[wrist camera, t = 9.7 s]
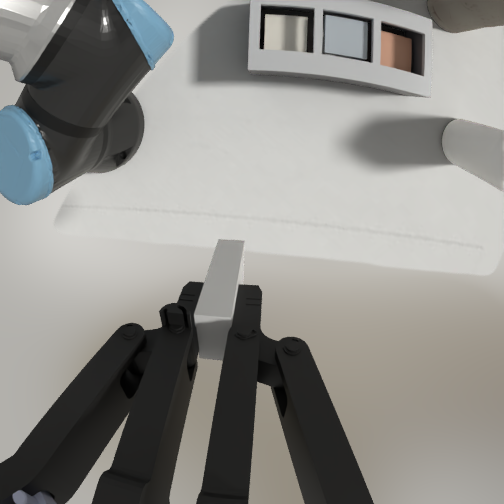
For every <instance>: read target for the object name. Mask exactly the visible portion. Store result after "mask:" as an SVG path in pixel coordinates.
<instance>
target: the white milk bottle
mask: <svg viewBox="0 0 504 504" xmlns="http://www.w3.org/2000/svg"><path fill="white" fill-rule="evenodd" d="M442 147H443V151H444V153H445V156H446V157H447V159H448V160H449V161H450V162H451V163H453V164H454V165H456V166H458V167H460V168H462V169H464V170H465V171H467V172H469V173H471V174H473V175H475V176H477V177H478V178H480V179H482V180H484V181H485V182H487V183H489V184H491V185H492V186H494V187H496V188H497V189H499V190H501V191H504V131H503V130H500V129H497V128H493V127H490V126H486V125H483V124H479V123H475V122H471V121H467V120H463V119H456V120H453V121H451V122H450V123H449V124H448V125H447V126H446V128H445V130H444V132H443V136H442Z"/></svg>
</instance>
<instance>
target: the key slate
mask: <svg viewBox="0 0 504 504" xmlns="http://www.w3.org/2000/svg"><path fill="white" fill-rule="evenodd" d="M367 37H368V23H367V22H362V21H358V20H353V19H347V18H342V17H336V16H330V15H325V17H324V42H323V54H329V55H336V56H342V57H348V58H354V59H359V60H367Z"/></svg>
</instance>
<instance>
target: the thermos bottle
mask: <svg viewBox="0 0 504 504" xmlns="http://www.w3.org/2000/svg"><path fill="white" fill-rule="evenodd" d="M427 7H428V11H429V13H430V15H431V17H432V18H433V20H434V21H435V22H436V23H437V24H438V25H439V26H440V27H441V28H442V29H444V30H445V31H448V32H450V33H459V32H464V31H470V30H475V29H479V28H484V27H495V26H503V25H504V0H428V1H427Z"/></svg>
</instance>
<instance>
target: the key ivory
mask: <svg viewBox="0 0 504 504" xmlns="http://www.w3.org/2000/svg"><path fill="white" fill-rule="evenodd" d="M307 22H308V17H301V16H289V15H274V14H265V36H264V49H265V50H284V51H296V52H307Z"/></svg>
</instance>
